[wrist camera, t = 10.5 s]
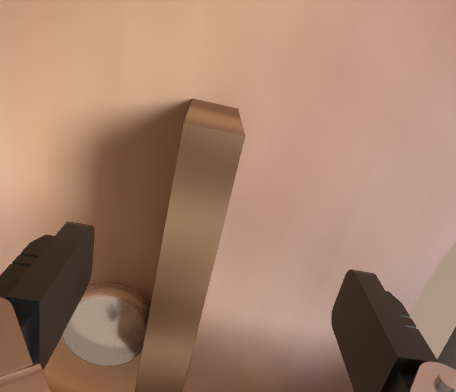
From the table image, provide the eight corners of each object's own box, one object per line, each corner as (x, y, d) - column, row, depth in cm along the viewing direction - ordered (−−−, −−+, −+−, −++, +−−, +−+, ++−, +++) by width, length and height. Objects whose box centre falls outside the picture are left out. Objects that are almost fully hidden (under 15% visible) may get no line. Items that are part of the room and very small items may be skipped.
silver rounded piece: (66, 282, 24) (54, 303, 23) (146, 279, 24) (140, 299, 23) (81, 344, 26) (71, 367, 25) (154, 340, 26) (150, 363, 25)
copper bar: (192, 98, 20) (183, 122, 15) (237, 108, 20) (245, 136, 15) (144, 355, 27) (126, 439, 21) (179, 360, 27) (169, 444, 22)
